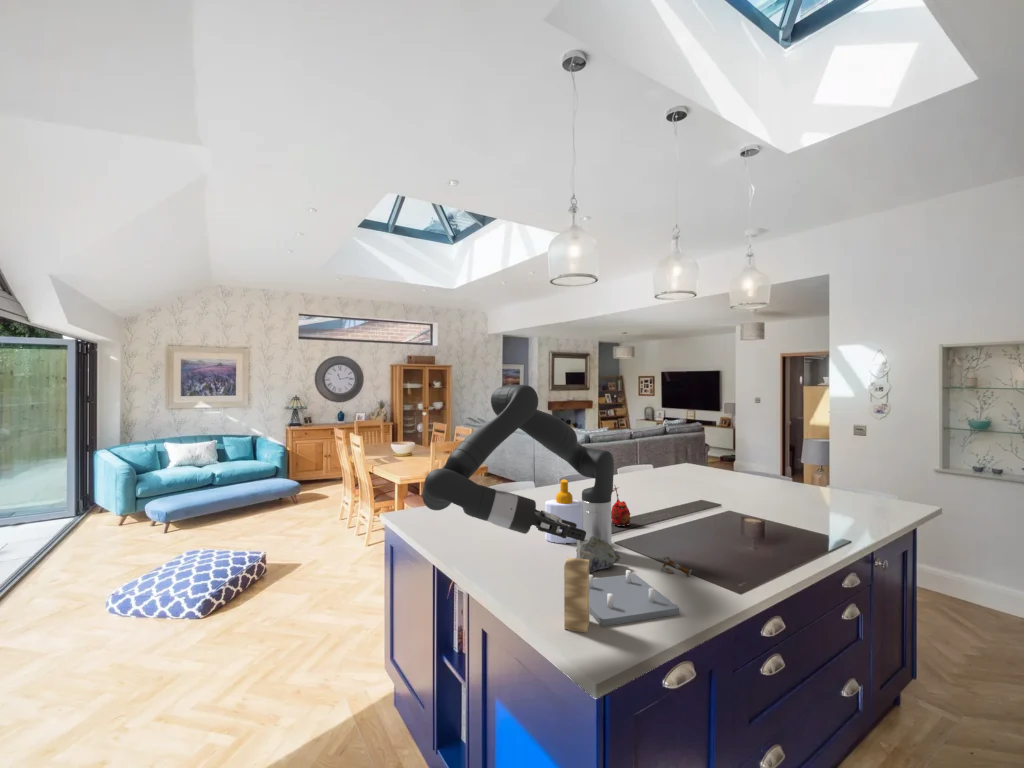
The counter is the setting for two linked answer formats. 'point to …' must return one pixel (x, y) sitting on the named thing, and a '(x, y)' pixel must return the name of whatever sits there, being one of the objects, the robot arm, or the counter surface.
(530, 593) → the counter surface
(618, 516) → the red clay folk toy
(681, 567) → the orange grey jointed piece
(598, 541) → the mineral rock
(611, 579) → the peg board
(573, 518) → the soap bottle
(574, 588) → the oak post
